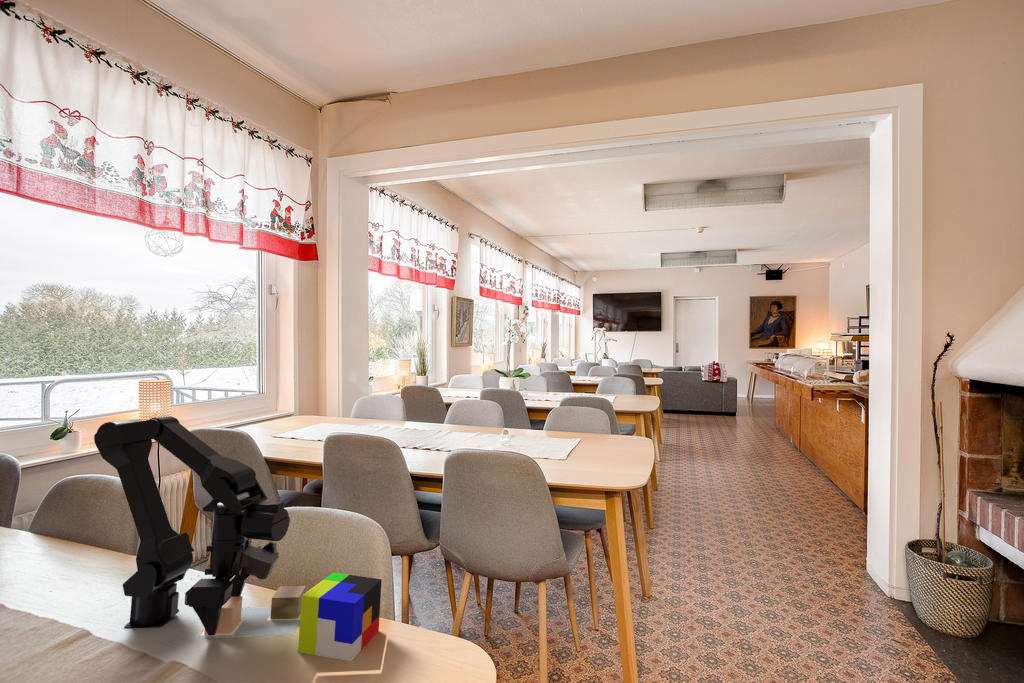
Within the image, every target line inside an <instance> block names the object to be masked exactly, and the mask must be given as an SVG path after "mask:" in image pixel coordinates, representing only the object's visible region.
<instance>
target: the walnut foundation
mask: <svg viewBox="0 0 1024 683" xmlns="http://www.w3.org/2000/svg"><path fill="white" fill-rule="evenodd" d="M304 593H306V585H290V586H289V585H287V586H285V585H283V586H279V587H278V588H277V589H276V591H275V593H274V594H273V596H272V597H271V603H270V604H271V605H270V607H271V617H270V619H294V618H298V617H299V615H300V613H301V600H302V595H303V594H304Z"/></svg>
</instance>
